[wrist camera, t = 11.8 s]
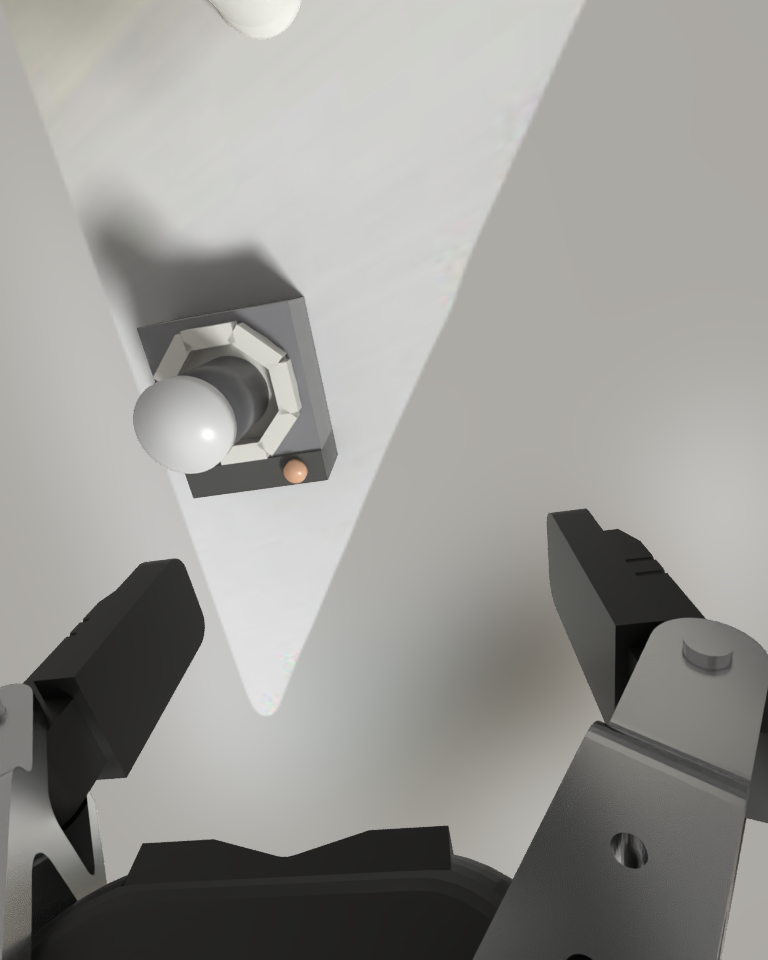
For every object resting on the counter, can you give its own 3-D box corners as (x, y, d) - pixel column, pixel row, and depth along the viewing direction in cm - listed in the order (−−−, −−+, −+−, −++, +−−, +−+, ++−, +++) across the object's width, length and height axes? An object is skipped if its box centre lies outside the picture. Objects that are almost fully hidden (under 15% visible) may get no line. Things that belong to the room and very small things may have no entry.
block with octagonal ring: (171, 320, 36) (124, 330, 30) (303, 296, 35) (282, 302, 29) (218, 471, 41) (186, 506, 35) (337, 454, 40) (325, 487, 34)
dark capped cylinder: (204, 342, 32) (142, 364, 24) (279, 371, 32) (241, 401, 25) (188, 413, 34) (126, 454, 26) (259, 439, 34) (218, 486, 27)
